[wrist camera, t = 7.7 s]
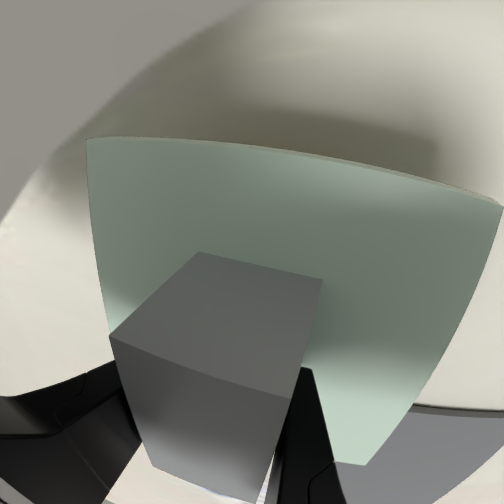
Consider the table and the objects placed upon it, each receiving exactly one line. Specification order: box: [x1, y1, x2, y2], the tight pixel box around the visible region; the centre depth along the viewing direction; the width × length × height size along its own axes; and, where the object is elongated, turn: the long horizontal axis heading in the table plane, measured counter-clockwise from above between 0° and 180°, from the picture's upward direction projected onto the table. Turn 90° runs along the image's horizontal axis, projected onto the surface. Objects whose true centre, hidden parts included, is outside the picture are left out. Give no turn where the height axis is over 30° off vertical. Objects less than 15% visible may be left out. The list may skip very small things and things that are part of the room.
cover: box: [86, 136, 504, 504], centre depth 8 cm, size 12×12×5 cm
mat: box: [334, 405, 504, 504], centre depth 16 cm, size 15×15×1 cm
